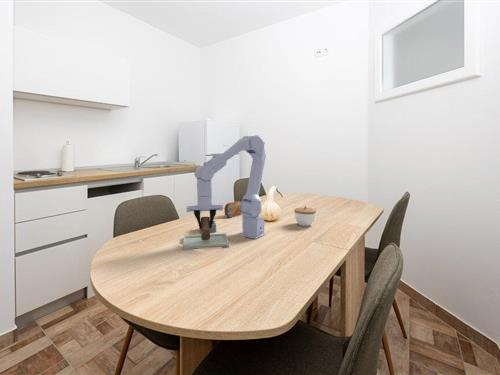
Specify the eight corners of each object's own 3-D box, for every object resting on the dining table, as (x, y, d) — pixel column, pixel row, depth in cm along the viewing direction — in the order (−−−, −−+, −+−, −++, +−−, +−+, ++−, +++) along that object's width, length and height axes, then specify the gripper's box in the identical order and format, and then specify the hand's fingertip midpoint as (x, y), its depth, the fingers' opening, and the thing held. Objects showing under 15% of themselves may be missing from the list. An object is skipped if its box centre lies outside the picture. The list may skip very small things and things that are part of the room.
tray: (226, 236, 126) (225, 233, 126) (229, 247, 114) (229, 243, 113) (184, 239, 123) (184, 235, 123) (182, 250, 110) (182, 246, 110)
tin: (227, 219, 158) (227, 204, 156) (223, 218, 159) (223, 203, 158) (244, 214, 169) (244, 200, 168) (240, 213, 171) (240, 199, 170)
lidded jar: (314, 222, 151) (314, 204, 149) (316, 227, 140) (317, 209, 139) (293, 221, 152) (294, 204, 151) (294, 227, 141) (295, 208, 140)
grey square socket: (215, 228, 139) (215, 220, 138) (216, 233, 132) (215, 224, 131) (200, 229, 137) (199, 221, 137) (200, 234, 130) (200, 225, 130)
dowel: (211, 238, 119) (211, 217, 117) (205, 240, 116) (205, 219, 114) (205, 236, 121) (205, 216, 119) (199, 239, 118) (198, 217, 116)
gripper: (221, 193, 121) (222, 224, 123) (186, 194, 118) (187, 226, 120) (223, 196, 114) (223, 229, 116) (185, 197, 111) (187, 231, 113)
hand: (205, 228), depth 117 cm, fingers closed on dowel, 4 cm apart
